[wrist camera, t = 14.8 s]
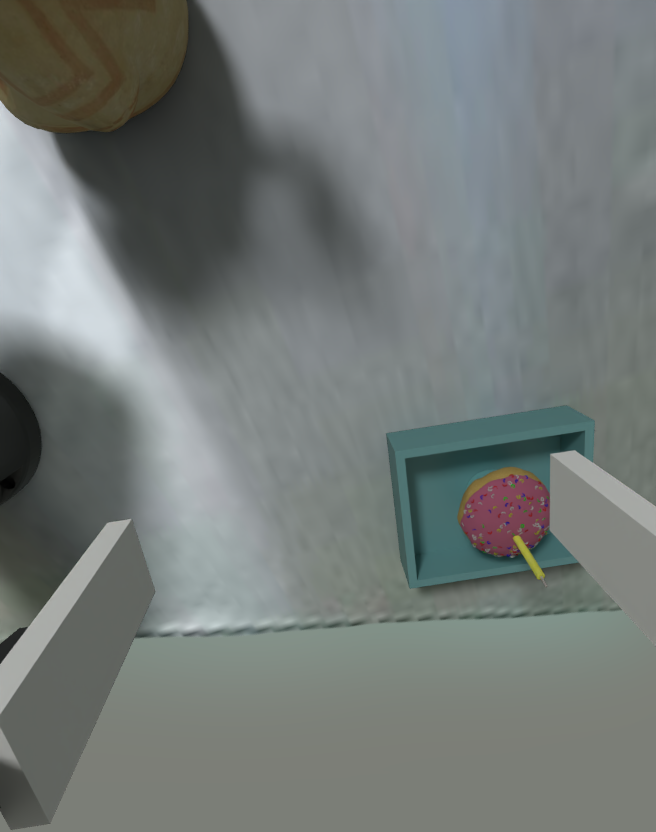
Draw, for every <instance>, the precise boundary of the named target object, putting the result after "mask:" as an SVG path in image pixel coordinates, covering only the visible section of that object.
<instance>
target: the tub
mask: <svg viewBox="0 0 656 832" xmlns="http://www.w3.org/2000/svg"><path fill="white" fill-rule="evenodd" d="M594 425H595V421H594V420H593V419H591V418H589V417H587V416H585V415H583V414H582V413H580V412H578V411H576V410H574V409H572V408H571V407H569V406H560V407H554V408H547V409H541V410H534V411H528V412H521V413H515V414H509V415H502V416H496V417H489V418H483V419H476V420H470V421H463V422H457V423H451V424H444V425H438V426H431V427H425V428H418V429H412V430H405V431H399V432H393V433H386V436H387V445H388V453H389V462H390V471H391V480H392V488H393V497H394V506H395V515H396V524H397V532H398V541H399V550H400V559H401V563H402V566H403V569H404V572H405V575H406V578H407V581H408V584H409V588H410V589H411V588H417V587H423V586H430V585H436V584H443V583H449V582H456V581H462V580H469V579H475V578H482V577H488V576H494V575H501V574H507V573H514V572H520V571H527V570H532V569H531V568H530V566H529V564H528V563H527V561H526V560H525V558H524V556H523V555H522V554H518V556H517V555H515V557H514V555H513V558H511V557H510V556H509V557H507V556H501V557H498V556H497V555H496V557H495V556H494V555H492V554H487V553H484V552H483V551H481V550H479V549H477V548H476V547H473V545H472V543H471V541H470V540H469V539H468V537H467V536H466V535H465V533H464V532H463V530H462V528H461V526H460V525H459V523H458V520H457V515H458V511H459V507H460V504H461V500H462V497H463V495H464V493H465V491H466V487H467V484H468V483H469V481H470V480H471V478H472V477H474V476H475V475H476V474H478V473H479V472H482V471H484V470H490V469H494V470H499V469H501V468H504V467H517V468H520V469H523V470H526V471H529V472H531V473H533V474H534V475H535V476H536V477H537V478H539V479H540V481H541V482H542V483H543V484H544V485H545V486H546V488H547V490H548V492H549V493H550V454H553V453H560V452H566V451H573V450H575V451H577V452H578V453H579V454H581V455H582V456H584V457H585V458H587V459H588V460H590V461H591V462H592V463H593V449H594ZM537 543H538V544H537V545H536V546H535V547H534V548H532V549H531V550H529V551H530V553H531V554H532V556H533V557H534V559H535V560H536V562H537V563H538V565H539V567H540V568H546V567H553V566H559V565H565V564H572V563H578V561H577V560H576V559H575V558H574V556H573V555H572V554H571V553H570V552H569V551H568V550H567V549H566V548H565V547H564V545H563V544H562V543H561V542H560V541H559V540H558V539H557V538H556V537H555V536H554V535H553V533H552V532H551V531H550V527H549V529H548V531H547V535H544V536H543V538H542V539H541V540H540V542H537ZM511 556H512V555H511Z"/></svg>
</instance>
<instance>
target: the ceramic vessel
mask: <svg viewBox="0 0 656 832" xmlns="http://www.w3.org/2000/svg"><path fill="white" fill-rule="evenodd" d="M187 43H188V7H187V0H0V100H1V102H2V103H3V104H4V106H5V107H6V108H7V109H8V110H9V111H10V112H11V113H12V114H13V115H14V116H15V117H16V118H18V119H19V120H21V121H22V122H24V123H25V124H27V125H29V126H32V127H34V128H37V129H42V130H45V131H49V132H57V133H75V132H83V131H89V130H93V131H101V132H111V131H114V130H116V129H118V128H120V127H121V126H123V125H124V124H125V123H126V122H127V120H129V119H131V118H132V117H134V116H136V115H138V114H140V113H142V112H144V111H146V110H147V109H148V108H150V107H151V106H153V105H154V104H156V103H157V102H158V101H159V100H160V99H161V98H162V97H163V96H164V95H165V94H166V93H167V92H168V91H169V89H170V88H171V87H172V85H173V84H174V83H175V81H176V79H177V76H178V74H179V72H180V70H181V67H182V64H183V61H184V58H185V54H186V49H187Z"/></svg>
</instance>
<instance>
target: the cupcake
mask: <svg viewBox="0 0 656 832" xmlns="http://www.w3.org/2000/svg"><path fill="white" fill-rule="evenodd" d="M457 520H458V523H459V525H460V526H461V528H462V530H463V532H464V533H465V535H466V536H467V537H468V539H469V540H470V541H471V543H472V545H473V547H476V548H477V549H479V550H481V551H483V552H484V553H487V554H492V555H494V556H495V557H496V555H497V556H498V557H501V556H507V557H509V556H510V557H511V558H513V555H514V557H515V555H517V556H518V554H522V555H523V556H524V558H525V560H526V561H527V563H528V564H529V566H530V568H531V569H532V571H533V573H534V574H535V576H536V577H537V579H539V580H541V581H542V582H543V584H544V586H545V587H547V584H546V582H545V580H544V579H543V578H544V577H545V574H544V573H543V571H542V570H541V568H540V567H539V565H538V563H537V562H536V560H535V559H534V557H533V556H532V554H531V553H530V551H529V550H531V549H532V548H534V547H535V546H536V545H537V544H538V543H537V542H540V540H541V539H542V538H543V536H544V535H547V531H548V529H549V527H550V493H549V492H548V490H547V488H546V486H545V485H544V484H543V483H542V482H541V481H540V479H539V478H537V477H536V476H535V475H534V474H533V473H531V472H529V471H526V470H523V469H520V468H517V467H504V468H501V469H499V470H494V469H490V470H484V471H482V472H479V473H478V474H476V475H475V476H474V477H472V478H471V480H470V481H469V483H468V484H467V487H466V491H465V493H464V495H463V497H462V500H461V504H460V507H459V511H458V515H457ZM511 555H512V556H511Z"/></svg>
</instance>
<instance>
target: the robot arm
mask: <svg viewBox="0 0 656 832" xmlns="http://www.w3.org/2000/svg"><path fill="white" fill-rule="evenodd" d="M40 455H41V435H40V430H39V426H38V423H37V420H36V417H35V415H34V413H33V411H32V409H31V407H30V405H29V403H28V402H27V400H26V399H25V397H24V396H23V395H22V394H21V392H20V391H19V390H18V389H17V388H16V387H15V386H14V385H13V384H12V383H11V382H10V381H9V380H8V379H7V378H6V377H5V376H3V375H2V374H1V373H0V505H1V504H3V503H4V502H6V501H7V500H8V499H10V498H11V497H12V496H13V495H15V494H16V493H17V492H19V491H20V490H21V489H22V488H23V487H24V486H25V485H26V484H27V483H28V482H29V481H30V479H31V478H32V476H33V475H34V473H35V471H36V469H37V466H38V463H39V460H40ZM550 531H551V532H552V533H553V535H554V536H555V537H556V538H557V539H558V540H559V541H560V542H561V543H562V544H563V545H564V547H565V548H566V549H567V550H568V551H569V552H570V553H571V554H572V555H573V556H574V558H575V559H576V560H577V561H578V562H579V563H580V564H581V565H582V566H583V567H584V568H585V570H586V571H587V572H588V573H589V574H590V575H591V576H592V577H593V578H594V579H595V580H596V582H597V583H598V584H599V585H600V586H601V587H602V588H603V589H604V590H605V591H606V592H607V594H608V595H609V596H610V597H611V598H612V599H613V600H614V601H615V602H616V603H617V605H618V606H619V607H620V608H621V609H622V610H623V611H624V612H625V613H626V614H627V615H628V617H629V618H630V619H631V620H632V621H633V622H634V623H635V624H636V625H637V626H638V627H639V629H640V630H641V631H642V632H643V633H644V634H645V635H646V636H647V637H648V638H649V639H650V641H651V642H652V643H653V644H654V645H655V646H656V506H654V505H653V504H651V503H650V502H649V501H647V500H646V499H644V498H643V497H641V496H640V495H638V494H637V493H636V492H634V491H633V490H631V489H630V488H628V487H627V486H625V485H624V484H623V483H621V482H620V481H618V480H617V479H615V478H614V477H613V476H611V475H610V474H608V473H607V472H605V471H604V470H602V469H601V468H600V467H598V466H597V465H595V464H594V463H592V462H591V461H590V460H588V459H587V458H585V457H584V456H582V455H581V454H579V453H578V452H577V451H575V450H573V451H566V452H560V453H553V454H550ZM154 593H155V589H154V585H153V582H152V579H151V576H150V573H149V570H148V567H147V564H146V561H145V558H144V555H143V552H142V549H141V545H140V542H139V539H138V536H137V533H136V530H135V527H134V524H133V521H132V519H128V520H121V521H115V522H108V523H107V524H106V525H105V527H104V528H103V529H102V531H101V532H100V533H99V535H98V536H97V537H96V538H95V540H94V541H93V542H92V544H91V545H90V546H89V548H88V549H87V550H86V552H85V553H84V554H83V556H82V557H81V558H80V560H79V561H78V562H77V564H76V565H75V566H74V568H73V569H72V570H71V571H70V573H69V574H68V575H67V577H66V578H65V579H64V581H63V582H62V583H61V585H60V586H59V587H58V589H57V590H56V591H55V593H54V594H53V595H52V597H51V598H50V599H49V601H48V602H47V603H46V604H45V606H44V607H43V608H42V610H41V611H40V612H39V614H38V615H37V616H36V618H35V619H34V620H33V622H32V623H31V624H30V626H29V627H25V628H19V629H18V630H17V631H15V632H14V633H13V634H12V635H11V636H9V637H8V638H7V639H6V640H5V641H3V642H2V643H1V644H0V811H1V813H2V815H3V817H4V819H5V820H6V822H7V824H8V826H9V827H10V829H11V830H13V829H20V828H26V827H32V826H39V825H45V824H50V823H51V821H52V818H53V816H54V814H55V812H56V810H57V807H58V805H59V803H60V801H61V798H62V796H63V794H64V792H65V790H66V787H67V785H68V783H69V781H70V779H71V776H72V774H73V772H74V770H75V767H76V765H77V763H78V761H79V759H80V757H81V754H82V752H83V750H84V748H85V746H86V743H87V741H88V739H89V736H90V735H91V732H92V730H93V728H94V726H95V724H96V721H97V719H98V717H99V715H100V712H101V710H102V708H103V706H104V703H105V701H106V699H107V697H108V695H109V693H110V690H111V688H112V686H113V684H114V681H115V679H116V677H117V675H118V673H119V670H120V668H121V666H122V664H123V662H124V660H125V657H126V655H127V653H128V651H129V649H130V646H131V644H132V642H133V640H134V637H135V635H136V633H137V631H138V629H139V626H140V624H141V622H142V620H143V618H144V615H145V613H146V611H147V609H148V607H149V604H150V602H151V600H152V598H153V596H154Z"/></svg>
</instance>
